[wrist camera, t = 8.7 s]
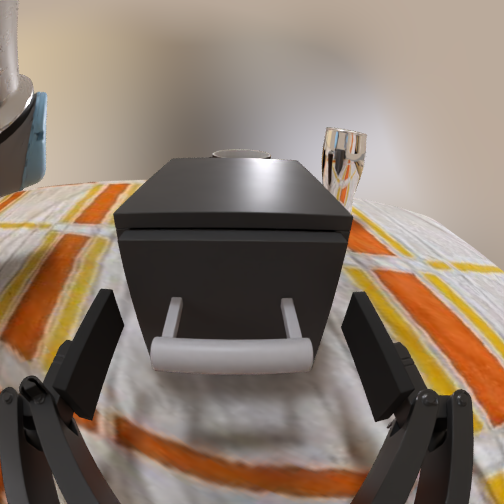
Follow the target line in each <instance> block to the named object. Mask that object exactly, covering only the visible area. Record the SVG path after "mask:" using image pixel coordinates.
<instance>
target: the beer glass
mask: <svg viewBox="0 0 504 504" xmlns="http://www.w3.org/2000/svg"><path fill="white" fill-rule="evenodd" d="M366 136H367V135H366V134H364V133H360V132H356V131H351V130H345V129H339V128H331V127H327V128H326V134H325V139H324V144H323V152H322V177H323V186H324V187H325V188H326V189H327V190H328V191H329V192H330V193H331V194H332V195H333V196H334V197H335V198H336V199H337V200H338V201H339V202H340V203H341V204H342V205H343V206H344V207H345V208H346V209H347V210H348V211H349V212H350V214H351V215H352V203H353V198H354V194H355V191H356V188H357V186H358V183H359V180H360V177H361V174H362V170H363V167H364V161H365V153H366Z"/></svg>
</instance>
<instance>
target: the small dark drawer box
mask: <svg viewBox="0 0 504 504" xmlns="http://www.w3.org/2000/svg"><path fill="white" fill-rule="evenodd" d="M113 215H114V221H115V227H116V232H117V237H118V239H119V238H120V236H121V235H122V234H123V232H124V231H125V230H148V228H269V229H309V230H318V232H340V233H341V234H342V235H343V237H344V238H345V239H346V241H347V242H348V239H349V234H350V230H351V225H352V220H353V216H352V215H351V214H350V212H349V211H348V210H347V209H346V208H345V207H344V206H343V205H342V204H341V203H340V202H339V201H338V200H337V199H336V198H335V197H334V196H333V195H332V194H331V193H330V192H329V191H328V190H327V189H326V188H325V187H324V186H323V185H322V184H321V183H320V182H319V181H318V180H317V179H316V178H315V177H314V176H313V175H312V174H311V173H310V172H309V171H308V170H307V169H306V168H305V167H303V166H302V164H300V163H299V162H298V161H296V160H282V159H261V158H176V159H171V160H170V161H169V162H168V163H167V164H166V165H164V166H163V167H162V168H161V169H160V170H159V171H158V172H156V173H155V174H154V175H153V176H152V177H151V178H150V179H149V180H148V181H146V182H145V183H144V184H143V185H142V186H141V187H140V188H139V189H138V190H137V191H136V192H135V193H134V194H133V195H132V196H130V197H129V198H128V199H127V200H126V201H125V202H124V203H123V204H122V205H121V206H120V207H119V208H118V209H117V210H116V211H115V212H114V214H113Z"/></svg>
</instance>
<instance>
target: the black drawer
mask: <svg viewBox="0 0 504 504" xmlns="http://www.w3.org/2000/svg"><path fill="white" fill-rule="evenodd" d="M347 244H348V242H347V241H346V239H345V238H344V237H343V235H342V234H341V233H340V232H318V230H309V229H269V228H148V230H125V231H124V232H123V234H122V235H121V236H120V238H119V239H118V245H119V249H120V254H121V259H122V263H123V267H124V271H125V275H126V279H127V283H128V287H129V291H130V295H131V298H132V302H133V305H134V309H135V312H136V315H137V319H138V322H139V325H140V328H141V331H142V334H143V337H144V340H145V343H146V346H147V349H148V352H149V355H150V357H151V364H152V367H153V369H154V370H156V371H166V372H178V373H195V374H231V375H241V374H278V373H294V372H307V371H310V370H311V368H312V365H313V363H314V360H315V357H316V354H317V351H318V348H319V345H320V342H321V339H322V336H323V333H324V329H325V326H326V323H327V320H328V316H329V313H330V310H331V306H332V303H333V299H334V296H335V292H336V288H337V285H338V281H339V277H340V273H341V269H342V265H343V261H344V257H345V253H346V249H347Z"/></svg>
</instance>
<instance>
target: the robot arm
mask: <svg viewBox="0 0 504 504" xmlns="http://www.w3.org/2000/svg"><path fill="white" fill-rule="evenodd" d="M18 4H19V0H0V197H3V196H6V195H9V194H11V193H14V192H17V191H22V190H23V189H24V188H26V187H28V186H31V185H33V184H36V183H38V182H39V181H41V180H42V178H43V176H44V175H45V170H46V115H47V94H46V93H45V92H42V93H40V92H37V93H36V94H34V90H33V84H32V81H31V79H30V78H28V77H27V76H25V75H21V74H19V67H18V51H17V19H18ZM123 327H124V323H123V320H122V318H121V315H120V312H119V309H118V306H117V303H116V300H115V296H114V293H113V290H111V289H100V291H99V293H98V294H97V296H96V298H95V300H94V301H93V303H92V305H91V307H90V309H89V310H88V312H87V314H86V316H85V318H84V320H83V321H82V323H81V325H80V327H79V329H78V331H77V333H76V335H75V337H74V339H73V341H70V340H66V341H65V342H64V343H63V344H62V345H61V346H60V347H59V349H58V351H57V354H56V356H55V358H54V360H53V363H52V364H51V366H50V368H49V370H48V373H47V375H46V377H45V379H44V382H43V383H42V382H41V381H40V380H39V379H38V378H37V377H36V376H28V377H26V378H24V379H23V381H22V382H21V384H20V387H19V392H20V393H17V391H16V390H15V389H13V388H12V387H7V388H5V389H4V390H3V391H2V392H1V394H0V460H1V468H2V476H3V482H4V488H5V493H6V498H7V502H8V504H60V502H59V499H58V495H57V491H56V488H55V484H54V480H53V475H54V478H55V480H56V482H57V484H58V486H59V488H60V490H61V492H62V494H63V496H64V498H65V500H66V502H67V504H120V502H119V501H118V499H117V498H116V496H115V495H114V493H113V492H112V490H111V489H110V487H109V485H108V484H107V482H106V480H105V479H104V477H103V475H102V474H101V472H100V470H99V468H98V467H97V465H96V463H95V461H94V459H93V457H92V456H91V454H90V452H89V450H88V448H87V446H86V444H85V442H84V439H83V437H82V435H81V433H80V431H79V429H78V426H77V424H76V422H75V419H74V418H73V413H74V412H75V413H76V414H77V415H78V416H79V417H81V418H85V419H88V420H93V416H94V412H95V409H96V406H97V402H98V399H99V396H100V392H101V389H102V386H103V383H104V380H105V377H106V374H107V371H108V368H109V365H110V362H111V359H112V357H113V354H114V351H115V348H116V346H117V343H118V340H119V338H120V335H121V332H122V330H123ZM341 329H342V331H343V334H344V336H345V339H346V341H347V344H348V347H349V349H350V352H351V355H352V357H353V360H354V363H355V365H356V368H357V371H358V374H359V376H360V379H361V382H362V385H363V388H364V391H365V393H366V396H367V399H368V402H369V405H370V408H371V411H372V414H373V417H374V420H375V422H377V421H381V420H385V419H388V418H389V417H390V416H391V415H392V414H393V413H394V415H395V417H396V418H395V419H394V420H393V421H392V422H391V423H390V424H389V425H388V426H387V428H389V427H391V428H390V430H389V432H388V435H387V437H386V439H385V441H384V444H383V446H382V448H381V450H380V452H379V454H378V456H377V458H376V460H375V462H374V464H373V466H372V468H371V470H370V472H369V473H368V475H367V477H366V479H365V481H364V482H363V484H362V486H361V487H360V489H359V491H358V492H357V494H356V496H355V497H354V499H353V500H352V502H351V504H405V502H406V500H407V498H408V496H409V494H410V492H411V490H412V487H413V485H414V483H415V480H416V478H417V476H418V473H419V471H420V477H419V482H418V487H417V492H416V497H415V501H414V504H469V498H470V490H471V481H472V470H473V445H474V437H473V411H472V400H471V397H470V395H469V393H467V392H466V391H465V390H462V389H460V390H457V391H455V392H454V393H453V394H452V395H438V394H437V393H436V392H435V391H433V390H431V389H427V387H426V386H425V384H424V381H423V379H422V377H421V375H420V373H419V371H418V369H417V367H416V365H414V361H413V359H412V358H411V356H410V354H409V352H408V350H407V348H406V347H405V346H404V345H402V344H401V343H400V342H398V343H393V342H392V340H391V338H390V336H389V334H388V333H387V331H386V329H385V327H384V325H383V323H382V321H381V319H380V318H379V316H378V314H377V312H376V310H375V309H374V307H373V305H372V303H371V301H370V300H369V298H368V296H367V294H366V293H365V292H353V294H352V297H351V300H350V303H349V306H348V309H347V312H346V315H345V318H344V320H343V323H342V326H341ZM420 468H421V470H420ZM52 473H53V475H52Z"/></svg>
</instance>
